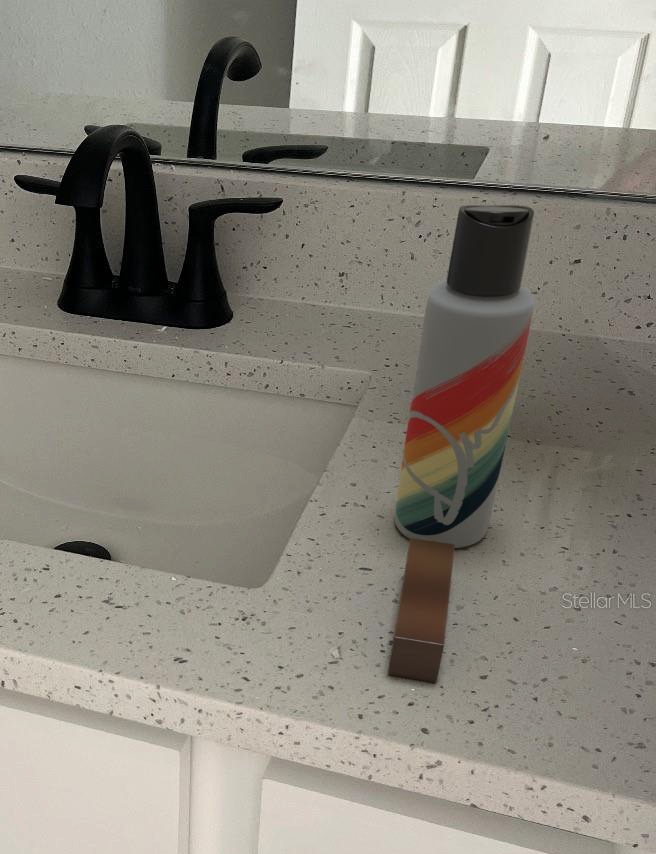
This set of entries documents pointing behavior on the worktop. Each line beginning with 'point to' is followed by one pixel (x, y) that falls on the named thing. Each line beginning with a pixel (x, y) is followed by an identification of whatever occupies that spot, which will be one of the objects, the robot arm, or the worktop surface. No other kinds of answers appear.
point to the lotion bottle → (466, 379)
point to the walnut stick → (422, 611)
